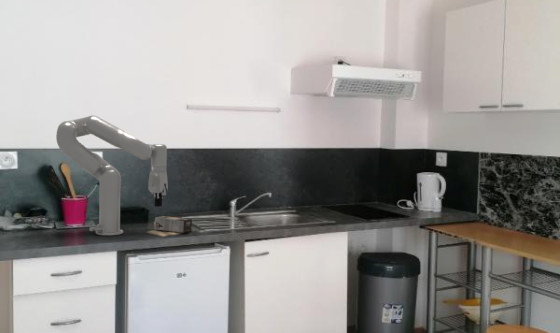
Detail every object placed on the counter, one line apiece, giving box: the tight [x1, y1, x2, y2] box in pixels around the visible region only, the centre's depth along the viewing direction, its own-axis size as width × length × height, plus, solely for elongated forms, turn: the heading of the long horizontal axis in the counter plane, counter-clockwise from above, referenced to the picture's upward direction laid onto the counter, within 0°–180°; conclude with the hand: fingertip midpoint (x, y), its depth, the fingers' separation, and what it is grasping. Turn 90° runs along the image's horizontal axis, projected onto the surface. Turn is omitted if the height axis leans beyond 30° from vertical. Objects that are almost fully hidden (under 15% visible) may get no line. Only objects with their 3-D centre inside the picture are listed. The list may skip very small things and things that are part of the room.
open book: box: [146, 229, 182, 238], centre depth 259 cm, size 11×13×1 cm
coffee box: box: [154, 215, 193, 234], centre depth 264 cm, size 9×6×16 cm
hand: (158, 206), depth 262 cm, fingers closed
